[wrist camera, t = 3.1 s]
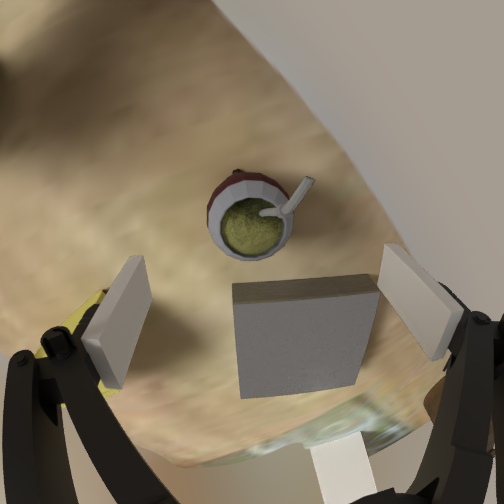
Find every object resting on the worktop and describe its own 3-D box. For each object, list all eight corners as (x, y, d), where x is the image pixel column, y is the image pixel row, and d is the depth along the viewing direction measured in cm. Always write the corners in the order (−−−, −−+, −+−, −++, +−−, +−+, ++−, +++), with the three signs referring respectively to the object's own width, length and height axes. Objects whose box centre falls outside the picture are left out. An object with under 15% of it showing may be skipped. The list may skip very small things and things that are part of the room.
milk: (363, 448, 57) (390, 533, 34) (319, 463, 58) (338, 549, 35) (360, 431, 52) (392, 531, 29) (309, 447, 53) (331, 549, 30)
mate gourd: (225, 241, 31) (224, 343, 17) (196, 170, 27) (164, 227, 14) (294, 217, 30) (345, 304, 17) (271, 143, 27) (314, 174, 13)
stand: (232, 283, 33) (232, 304, 29) (367, 273, 34) (380, 291, 30) (239, 377, 40) (240, 398, 36) (346, 365, 41) (354, 384, 37)
